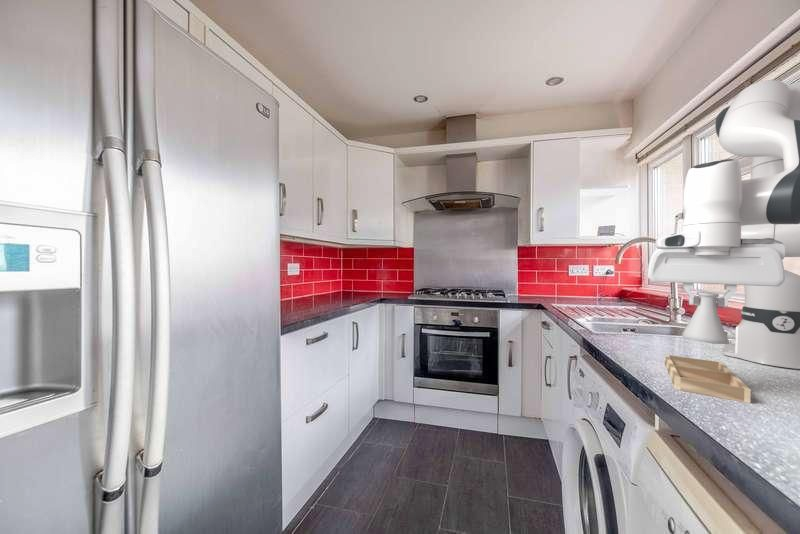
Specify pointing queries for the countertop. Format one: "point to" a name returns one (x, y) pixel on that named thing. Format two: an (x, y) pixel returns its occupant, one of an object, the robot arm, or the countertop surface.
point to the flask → (706, 322)
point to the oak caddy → (706, 378)
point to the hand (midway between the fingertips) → (707, 305)
